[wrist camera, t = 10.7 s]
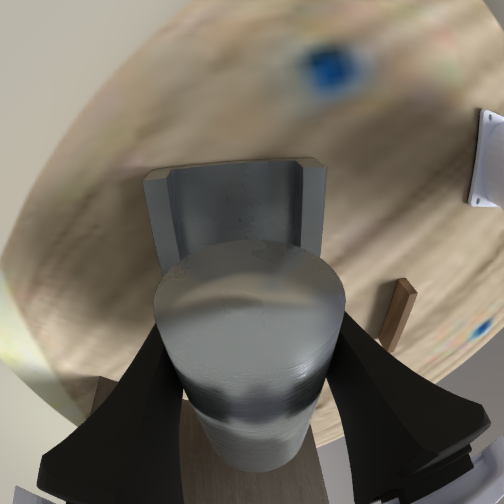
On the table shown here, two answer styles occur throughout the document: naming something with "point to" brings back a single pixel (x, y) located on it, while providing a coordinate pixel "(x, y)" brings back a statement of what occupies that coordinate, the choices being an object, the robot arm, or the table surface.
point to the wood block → (230, 478)
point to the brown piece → (397, 314)
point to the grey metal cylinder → (251, 343)
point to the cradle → (235, 205)
